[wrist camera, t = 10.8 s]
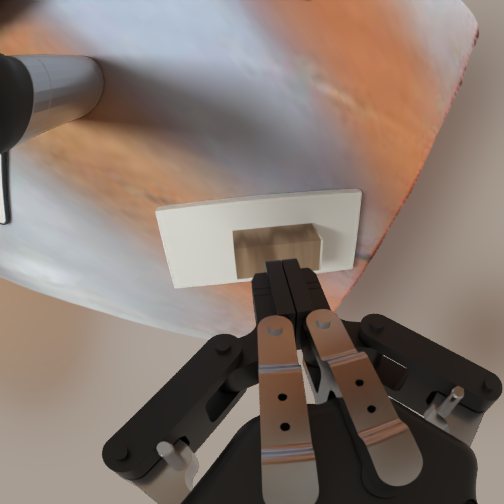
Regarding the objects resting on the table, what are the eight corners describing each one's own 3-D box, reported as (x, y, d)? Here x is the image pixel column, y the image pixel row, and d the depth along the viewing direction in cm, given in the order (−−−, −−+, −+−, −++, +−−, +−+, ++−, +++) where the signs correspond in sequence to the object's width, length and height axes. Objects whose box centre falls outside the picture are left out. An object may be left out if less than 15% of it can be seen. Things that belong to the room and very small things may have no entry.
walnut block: (237, 279, 43) (320, 269, 43) (233, 249, 40) (323, 240, 40) (235, 259, 47) (312, 251, 47) (232, 230, 44) (313, 222, 45)
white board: (175, 282, 50) (174, 288, 49) (157, 206, 42) (155, 211, 41) (349, 263, 51) (352, 268, 50) (357, 188, 44) (361, 192, 42)
